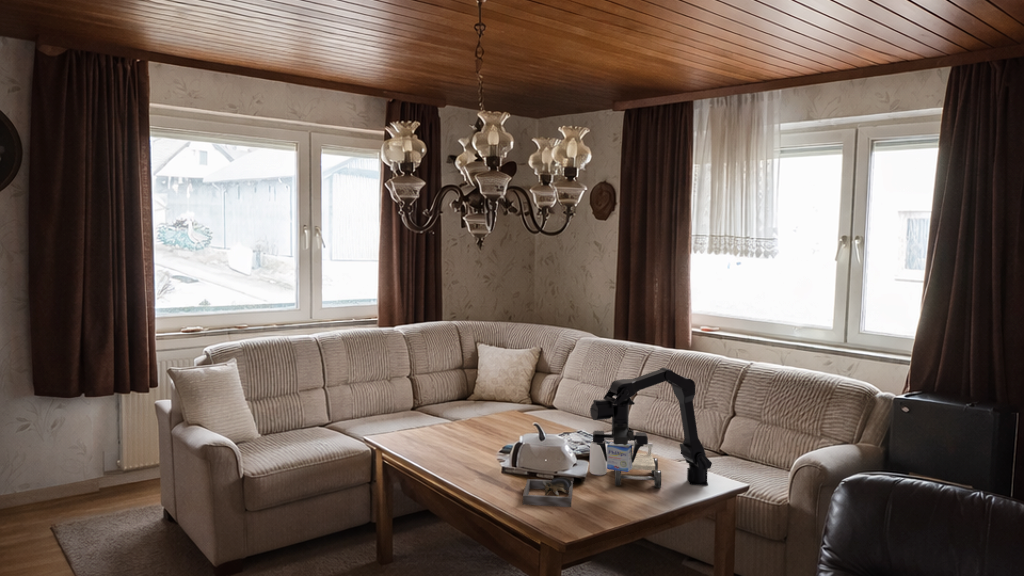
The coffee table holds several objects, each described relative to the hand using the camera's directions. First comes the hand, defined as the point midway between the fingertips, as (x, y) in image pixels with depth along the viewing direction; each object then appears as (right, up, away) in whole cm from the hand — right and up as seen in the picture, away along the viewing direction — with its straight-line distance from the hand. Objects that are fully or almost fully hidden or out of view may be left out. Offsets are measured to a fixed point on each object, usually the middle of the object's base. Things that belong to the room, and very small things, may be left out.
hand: (619, 461), depth 247 cm
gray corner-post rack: (+8, -10, +15) cm, 19 cm away
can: (-5, -10, +21) cm, 24 cm away
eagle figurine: (-22, -11, -2) cm, 25 cm away
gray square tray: (-25, -11, -4) cm, 28 cm away
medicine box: (0, -3, 0) cm, 3 cm away
